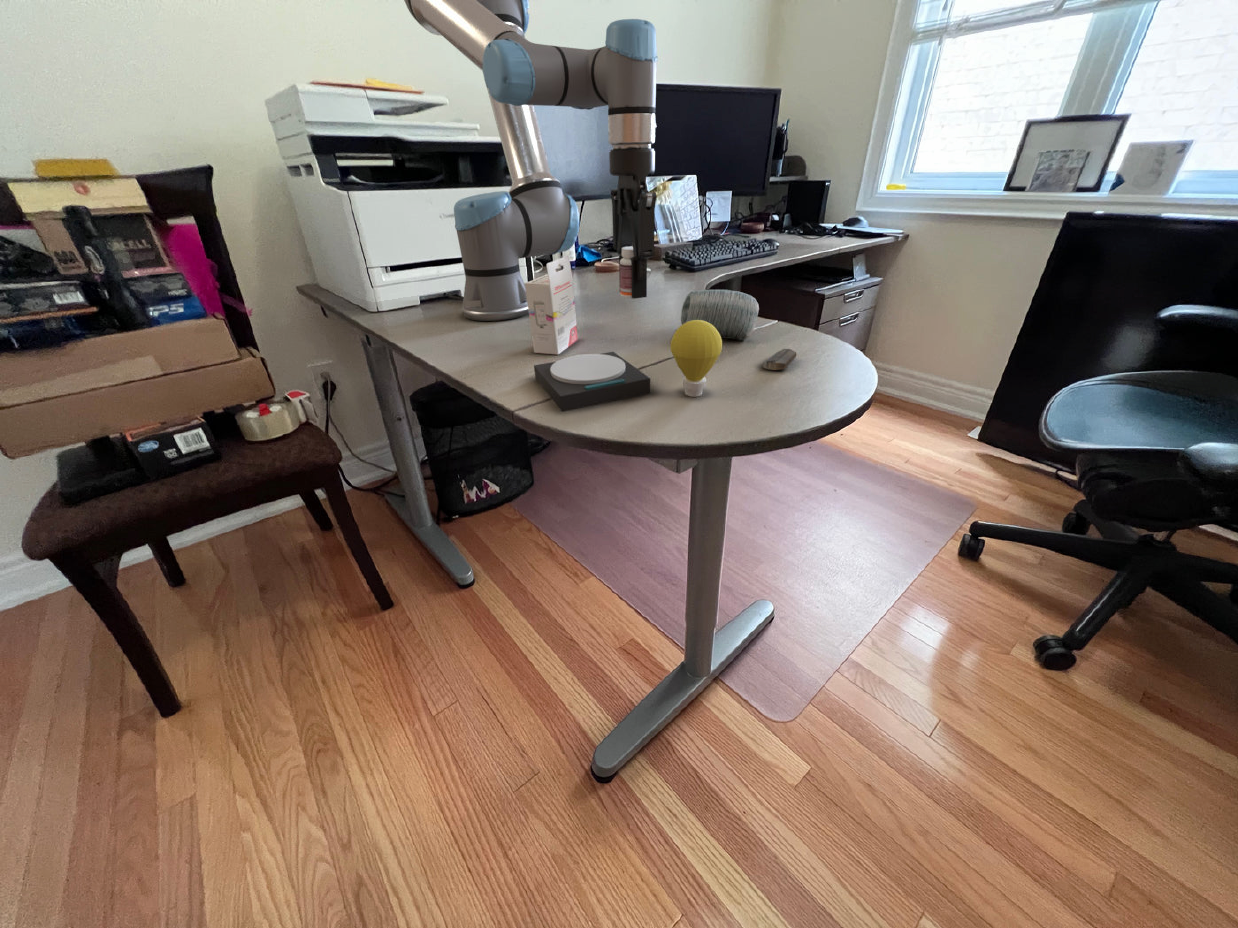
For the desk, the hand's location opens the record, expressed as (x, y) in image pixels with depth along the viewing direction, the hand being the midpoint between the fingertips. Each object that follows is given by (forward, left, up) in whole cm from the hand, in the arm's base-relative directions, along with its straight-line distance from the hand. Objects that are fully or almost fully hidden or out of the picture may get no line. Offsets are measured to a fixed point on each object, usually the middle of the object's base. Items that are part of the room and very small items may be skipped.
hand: (632, 294), depth 92 cm
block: (+29, +11, -7) cm, 32 cm away
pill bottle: (0, 0, -1) cm, 1 cm away
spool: (+12, +11, -7) cm, 18 cm away
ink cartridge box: (+3, -17, -7) cm, 19 cm away
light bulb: (+33, -6, -7) cm, 34 cm away
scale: (+23, -18, -7) cm, 30 cm away
